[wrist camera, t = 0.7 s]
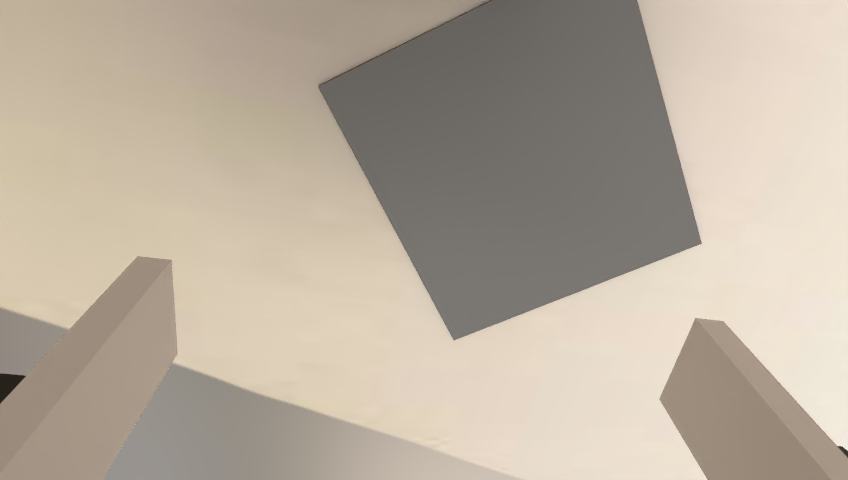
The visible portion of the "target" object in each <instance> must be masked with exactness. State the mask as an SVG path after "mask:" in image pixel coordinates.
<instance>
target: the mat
mask: <svg viewBox="0 0 848 480" xmlns="http://www.w3.org/2000/svg"><path fill="white" fill-rule="evenodd" d="M318 87H319V89H320V91H321V93H322V95H323V97H324V99H325V100H326V102H327V104H328V106H329V108H330V110H331V112H332V114H333V115H334V117H335V119H336V121H337V123H338V125H339V127H340V128H341V130H342V132H343V134H344V136H345V138H346V140H347V142H348V143H349V145H350V147H351V149H352V151H353V153H354V155H355V157H356V158H357V160H358V162H359V164H360V166H361V168H362V170H363V171H364V173H365V175H366V177H367V179H368V181H369V183H370V185H371V186H372V188H373V190H374V192H375V194H376V196H377V198H378V200H379V201H380V203H381V205H382V207H383V209H384V211H385V213H386V214H387V216H388V218H389V220H390V222H391V224H392V226H393V228H394V229H395V231H396V233H397V235H398V237H399V239H400V241H401V242H402V244H403V246H404V248H405V250H406V252H407V254H408V256H409V257H410V259H411V261H412V263H413V265H414V267H415V269H416V271H417V272H418V274H419V276H420V278H421V280H422V282H423V284H424V285H425V287H426V289H427V291H428V293H429V295H430V297H431V299H432V300H433V302H434V304H435V306H436V308H437V310H438V312H439V314H440V315H441V317H442V319H443V321H444V323H445V325H446V327H447V328H448V330H449V332H450V334H451V336H452V338H453V340H456V339H459V338H461V337H464V336H466V335H469V334H471V333H474V332H477V331H479V330H482V329H484V328H487V327H489V326H492V325H494V324H497V323H500V322H502V321H505V320H507V319H510V318H512V317H515V316H518V315H520V314H523V313H525V312H528V311H530V310H533V309H535V308H538V307H541V306H543V305H546V304H548V303H551V302H553V301H556V300H558V299H561V298H564V297H566V296H569V295H571V294H574V293H576V292H579V291H581V290H584V289H587V288H589V287H592V286H594V285H597V284H599V283H602V282H604V281H607V280H610V279H612V278H615V277H617V276H620V275H622V274H625V273H628V272H630V271H633V270H635V269H638V268H640V267H643V266H645V265H648V264H651V263H653V262H656V261H658V260H661V259H663V258H666V257H668V256H671V255H674V254H676V253H679V252H681V251H684V250H686V249H689V248H691V247H694V246H697V245H699V244H702V243H701V239H700V236H699V232H698V228H697V224H696V220H695V217H694V213H693V209H692V205H691V202H690V198H689V194H688V190H687V187H686V183H685V179H684V175H683V172H682V168H681V164H680V160H679V156H678V153H677V149H676V145H675V141H674V138H673V134H672V130H671V126H670V123H669V119H668V115H667V111H666V108H665V104H664V100H663V96H662V93H661V89H660V85H659V81H658V77H657V74H656V70H655V66H654V62H653V59H652V55H651V51H650V47H649V44H648V40H647V36H646V32H645V29H644V25H643V21H642V17H641V13H640V10H639V6H638V2H637V0H491V1H489V2H487V3H485V4H483V5H481V6H479V7H477V8H475V9H473V10H471V11H469V12H467V13H465V14H463V15H461V16H459V17H457V18H455V19H453V20H451V21H449V22H447V23H445V24H443V25H441V26H439V27H437V28H435V29H433V30H431V31H429V32H427V33H425V34H422V35H420V36H418V37H416V38H414V39H412V40H410V41H408V42H406V43H404V44H402V45H400V46H398V47H396V48H394V49H392V50H390V51H388V52H386V53H384V54H382V55H380V56H378V57H376V58H374V59H372V60H370V61H368V62H366V63H364V64H362V65H360V66H358V67H356V68H354V69H352V70H350V71H348V72H346V73H344V74H342V75H340V76H338V77H336V78H334V79H332V80H330V81H328V82H326V83H324V84H322V85H320V86H318Z"/></svg>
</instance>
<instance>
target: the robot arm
mask: <svg viewBox="0 0 848 480" xmlns="http://www.w3.org/2000/svg"><path fill="white" fill-rule="evenodd" d="M176 355H177V338H176V323H175V307H174V292H173V276H172V261H171V260H166V259H157V258H148V257H139V256H138V257H137V258H136V259H135V260H134V261H133V262H132V263H131V264H130V265H129V266H128V267H127V268H126V269H125V270H124V272H123V273H122V274H121V275H120V276H119V277H118V278H117V279H116V280H115V281H114V282H113V283H112V284H111V286H110V287H109V288H108V289H107V290H106V291H105V292H104V293H103V294H102V295H101V296H100V297H99V298H98V299H97V301H96V302H95V303H94V304H93V305H92V306H91V307H90V308H89V309H88V310H87V311H86V312H85V313H84V315H83V316H82V317H81V318H80V319H79V320H78V321H77V322H76V323H75V324H74V325H73V326H72V327H71V328H70V330H69V331H68V332H67V333H66V334H65V335H64V336H63V337H62V338H61V340H59V341H58V343H57V344H56V345H55V346H54V347H53V348H52V349H51V350H50V351H49V352H48V353H47V354H46V355H45V357H43V359H42V360H41V361H40V362H39V363H38V364H37V365H36V366H35V367H34V368H33V369H32V370H31V371H30V373H29V374H28V375H27V376H23V375H11V374H0V480H103V478H104V477H105V475H106V473H107V471H108V470H109V468H110V466H111V465H112V463H113V461H114V460H115V458H116V456H117V455H118V453H119V451H120V450H121V448H122V446H123V445H124V443H125V441H126V439H127V438H128V436H129V434H130V433H131V431H132V429H133V428H134V426H135V424H136V422H137V421H138V419H139V418H140V416H141V414H142V412H143V411H144V409H145V407H146V406H147V404H148V402H149V400H150V399H151V397H152V395H153V394H154V392H155V390H156V389H157V387H158V385H159V384H160V382H161V380H162V379H163V377H164V375H165V374H166V372H167V370H168V368H169V367H170V365H171V363H172V362H173V360H174V358H175V357H176ZM660 401H661V402H662V404H663V406H664V407H665V409H666V411H667V413H668V414H669V416H670V418H671V419H672V421H673V423H674V424H675V426H676V428H677V429H678V431H679V433H680V434H681V436H682V438H683V439H684V441H685V443H686V444H687V446H688V448H689V449H690V451H691V453H692V454H693V456H694V458H695V459H696V461H697V463H698V464H699V466H700V468H701V469H702V471H703V473H704V474H705V476H706V478H707V479H708V480H848V451H847V450H846V449H844V448H843V447H841V446H837V445H836V444H835V443H834V442H833V441H832V440H831V439H830V438H829V437H828V436H827V434H826V433H825V432H824V431H823V430H822V429H821V428H820V427H819V426H818V425H817V424H816V422H815V421H814V420H813V419H812V418H811V417H810V416H809V415H808V414H807V413H806V411H805V410H804V409H803V408H802V407H801V406H800V405H799V404H798V403H797V402H796V400H795V399H794V398H793V397H792V396H791V395H790V394H789V393H788V392H787V391H786V390H785V388H784V387H783V386H782V385H781V384H780V383H779V382H778V381H777V380H776V379H775V377H774V376H773V375H772V374H771V373H770V372H769V371H768V370H767V369H766V368H765V367H764V365H763V364H762V363H761V362H760V361H759V360H758V359H757V358H756V357H755V356H754V354H753V353H752V352H751V351H750V350H749V349H748V348H747V347H746V346H745V345H744V343H743V342H742V341H741V340H740V339H739V338H738V337H737V336H736V335H735V334H734V333H733V331H732V330H731V329H730V328H729V327H728V326H727V325H726V324H725V323H724V322H723V321H716V320H707V319H698V318H695V321H694V323H693V325H692V327H691V330H690V332H689V334H688V336H687V339H686V341H685V343H684V345H683V347H682V350H681V352H680V354H679V356H678V359H677V361H676V363H675V365H674V368H673V370H672V372H671V374H670V376H669V379H668V381H667V383H666V385H665V388H664V390H663V392H662V394H661V397H660Z"/></svg>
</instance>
